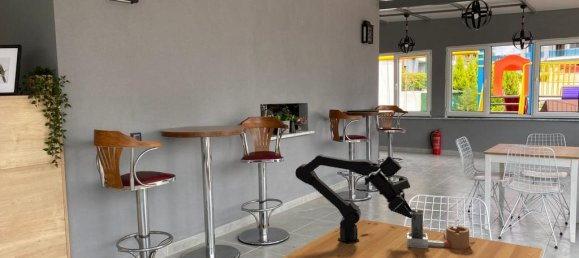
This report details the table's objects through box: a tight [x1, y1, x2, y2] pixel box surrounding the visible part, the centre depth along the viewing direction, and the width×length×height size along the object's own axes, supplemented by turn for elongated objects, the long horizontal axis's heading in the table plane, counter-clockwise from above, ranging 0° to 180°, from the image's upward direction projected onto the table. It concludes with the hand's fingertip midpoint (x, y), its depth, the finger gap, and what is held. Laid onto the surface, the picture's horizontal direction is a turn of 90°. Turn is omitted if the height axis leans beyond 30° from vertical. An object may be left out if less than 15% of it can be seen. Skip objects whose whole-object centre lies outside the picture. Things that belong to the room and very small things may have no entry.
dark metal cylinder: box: [410, 209, 424, 239], centre depth 177 cm, size 4×4×11 cm
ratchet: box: [406, 232, 453, 249], centre depth 176 cm, size 8×18×3 cm, turn 76°
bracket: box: [443, 225, 470, 250], centre depth 180 cm, size 18×8×7 cm, turn 167°
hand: (411, 214), depth 177 cm, fingers open, 9 cm apart
